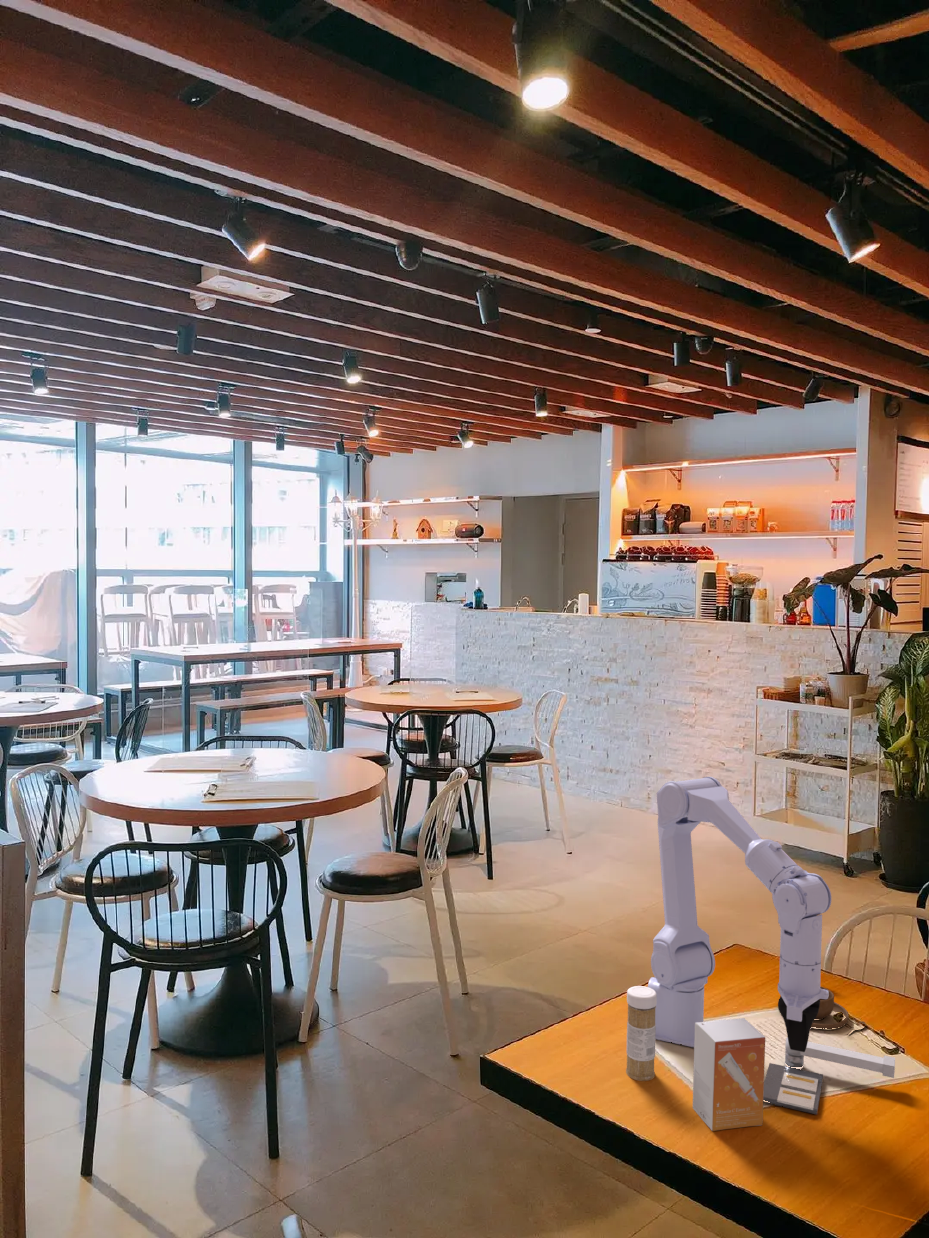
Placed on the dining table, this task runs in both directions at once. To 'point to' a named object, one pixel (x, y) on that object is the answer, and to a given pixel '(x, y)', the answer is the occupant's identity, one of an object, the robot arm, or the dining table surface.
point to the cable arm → (847, 1058)
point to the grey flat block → (793, 1085)
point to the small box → (728, 1073)
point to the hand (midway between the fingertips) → (797, 1048)
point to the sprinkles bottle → (641, 1033)
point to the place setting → (827, 1009)
